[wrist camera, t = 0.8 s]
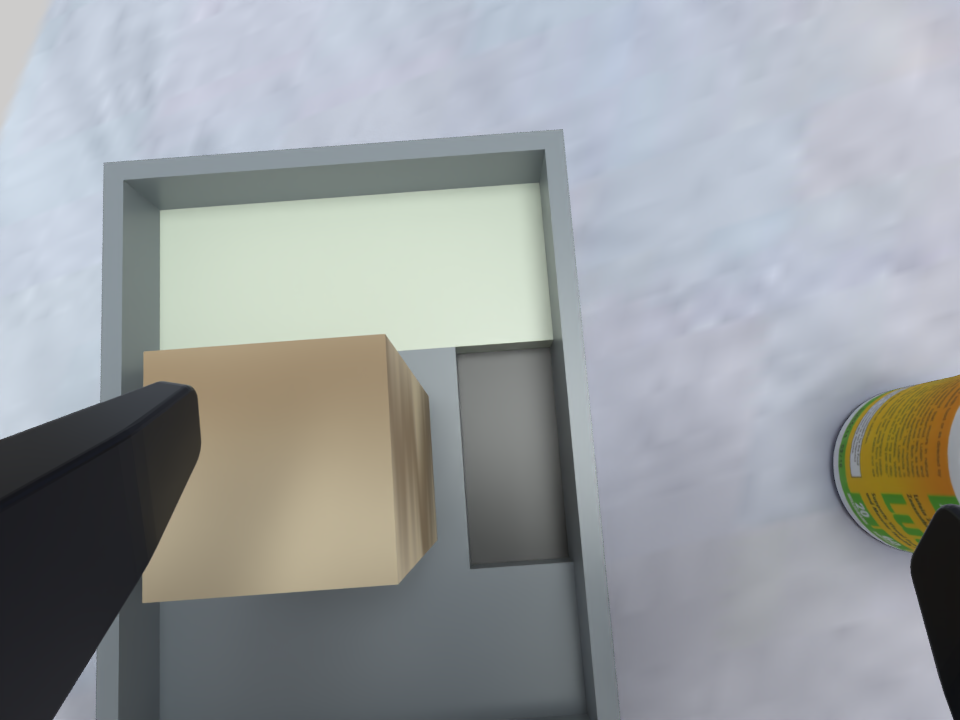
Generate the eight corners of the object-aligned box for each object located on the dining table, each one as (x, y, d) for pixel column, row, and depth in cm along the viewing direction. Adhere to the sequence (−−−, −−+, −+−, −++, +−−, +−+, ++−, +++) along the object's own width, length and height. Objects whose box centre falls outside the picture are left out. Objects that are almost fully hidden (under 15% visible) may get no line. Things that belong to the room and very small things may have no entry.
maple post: (437, 540, 23) (397, 584, 13) (292, 550, 23) (141, 603, 13) (428, 396, 23) (385, 334, 14) (288, 406, 23) (143, 351, 14)
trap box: (601, 717, 23) (625, 765, 19) (161, 749, 23) (94, 804, 19) (551, 182, 26) (562, 129, 22) (161, 210, 26) (103, 162, 22)
